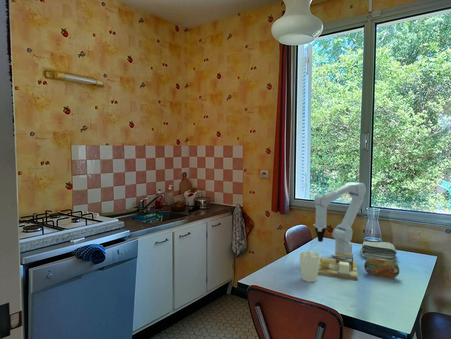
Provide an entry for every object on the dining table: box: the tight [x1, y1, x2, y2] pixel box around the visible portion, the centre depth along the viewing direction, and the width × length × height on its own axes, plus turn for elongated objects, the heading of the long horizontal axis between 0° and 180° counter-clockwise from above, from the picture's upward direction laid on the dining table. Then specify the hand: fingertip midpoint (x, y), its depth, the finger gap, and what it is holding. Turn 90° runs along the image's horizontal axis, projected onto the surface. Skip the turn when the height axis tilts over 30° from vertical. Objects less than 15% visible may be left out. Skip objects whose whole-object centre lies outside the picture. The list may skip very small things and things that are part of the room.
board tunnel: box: [317, 252, 359, 281], centre depth 157 cm, size 22×19×8 cm
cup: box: [299, 250, 320, 283], centre depth 143 cm, size 9×9×12 cm
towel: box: [360, 241, 398, 262], centre depth 178 cm, size 15×18×8 cm
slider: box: [321, 260, 351, 275], centre depth 150 cm, size 6×14×4 cm, turn 68°
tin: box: [363, 258, 400, 279], centre depth 148 cm, size 15×3×8 cm, turn 62°
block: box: [339, 261, 349, 274], centre depth 148 cm, size 4×4×4 cm
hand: (320, 241), depth 170 cm, fingers closed
